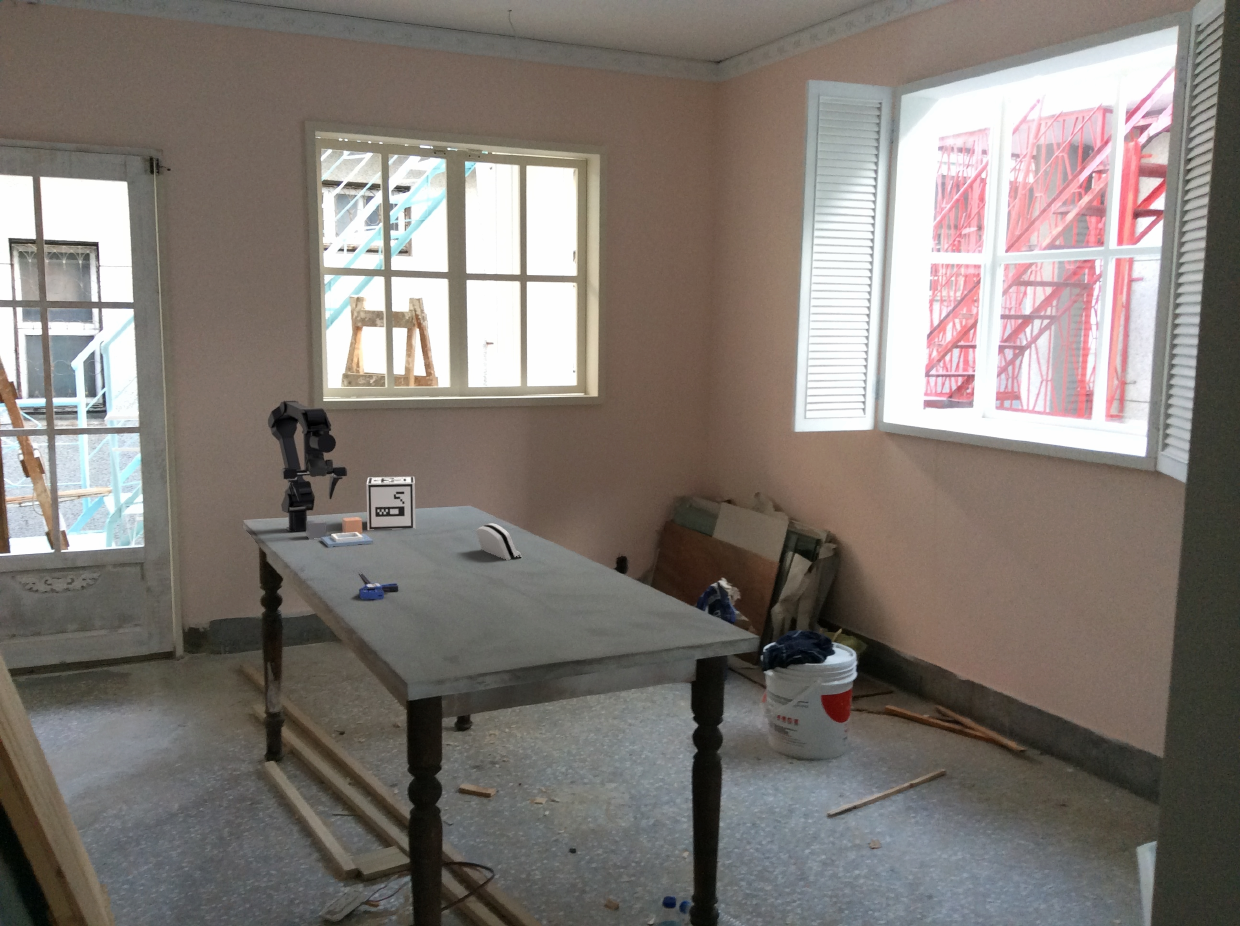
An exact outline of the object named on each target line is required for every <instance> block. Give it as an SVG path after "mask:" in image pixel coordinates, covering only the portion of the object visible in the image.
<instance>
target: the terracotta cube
mask: <svg viewBox="0 0 1240 926" xmlns="http://www.w3.org/2000/svg"><path fill="white" fill-rule="evenodd" d="M341 521H342V522H341V523H342V524H341V525H342V526H341V527H342V533H351V532H358V533H359V534H363V519H362V518H361V517H359V516H355V517H353V516H352V517H342V518H341Z"/></svg>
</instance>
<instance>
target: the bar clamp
mask: <svg viewBox="0 0 1240 926" xmlns="http://www.w3.org/2000/svg"><path fill="white" fill-rule="evenodd" d="M360 574H361V573H359V574H358V575H359V577H360V578H361V579H362V580H363V582H365V583H366V584H365V585H364V586H362V587H360V588H359V589H358V593H359V594H358V597H359V598H360V599H361V598H363V599H362V600H367V599H380V600H384V599H383V598H385V593H390V592H399V585H398V583H386V584H381V583H379V582H374V583H373V582H371V581H370V580H369V579H368V578H367V577H366V576H365V575H364V574H363V573H362V574H361V575H360Z"/></svg>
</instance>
